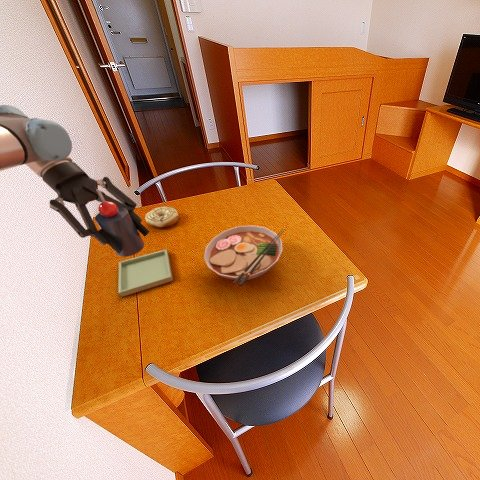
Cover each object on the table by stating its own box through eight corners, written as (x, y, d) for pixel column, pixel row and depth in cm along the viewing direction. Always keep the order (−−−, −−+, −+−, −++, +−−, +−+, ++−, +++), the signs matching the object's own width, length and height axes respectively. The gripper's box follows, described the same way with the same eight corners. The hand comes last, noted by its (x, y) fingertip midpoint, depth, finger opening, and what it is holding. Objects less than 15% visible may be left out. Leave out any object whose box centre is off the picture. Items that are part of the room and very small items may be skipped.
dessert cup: (109, 255, 72) (71, 195, 60) (125, 238, 77) (93, 180, 65) (135, 257, 71) (101, 198, 59) (149, 240, 76) (121, 182, 65)
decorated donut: (163, 233, 97) (159, 224, 95) (141, 224, 100) (137, 216, 98) (185, 217, 104) (182, 209, 102) (164, 210, 108) (161, 202, 105)
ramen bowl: (241, 233, 98) (237, 214, 93) (298, 252, 92) (297, 233, 87) (190, 281, 81) (181, 261, 76) (256, 308, 74) (252, 289, 69)
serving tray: (121, 297, 76) (118, 292, 75) (121, 266, 84) (118, 262, 83) (172, 280, 81) (171, 276, 80) (168, 253, 90) (166, 249, 88)
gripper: (97, 162, 74) (161, 226, 80) (8, 196, 61) (94, 271, 66) (100, 146, 69) (169, 216, 75) (5, 180, 55) (98, 262, 61)
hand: (134, 242), depth 71 cm, fingers closed on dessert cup, 7 cm apart
